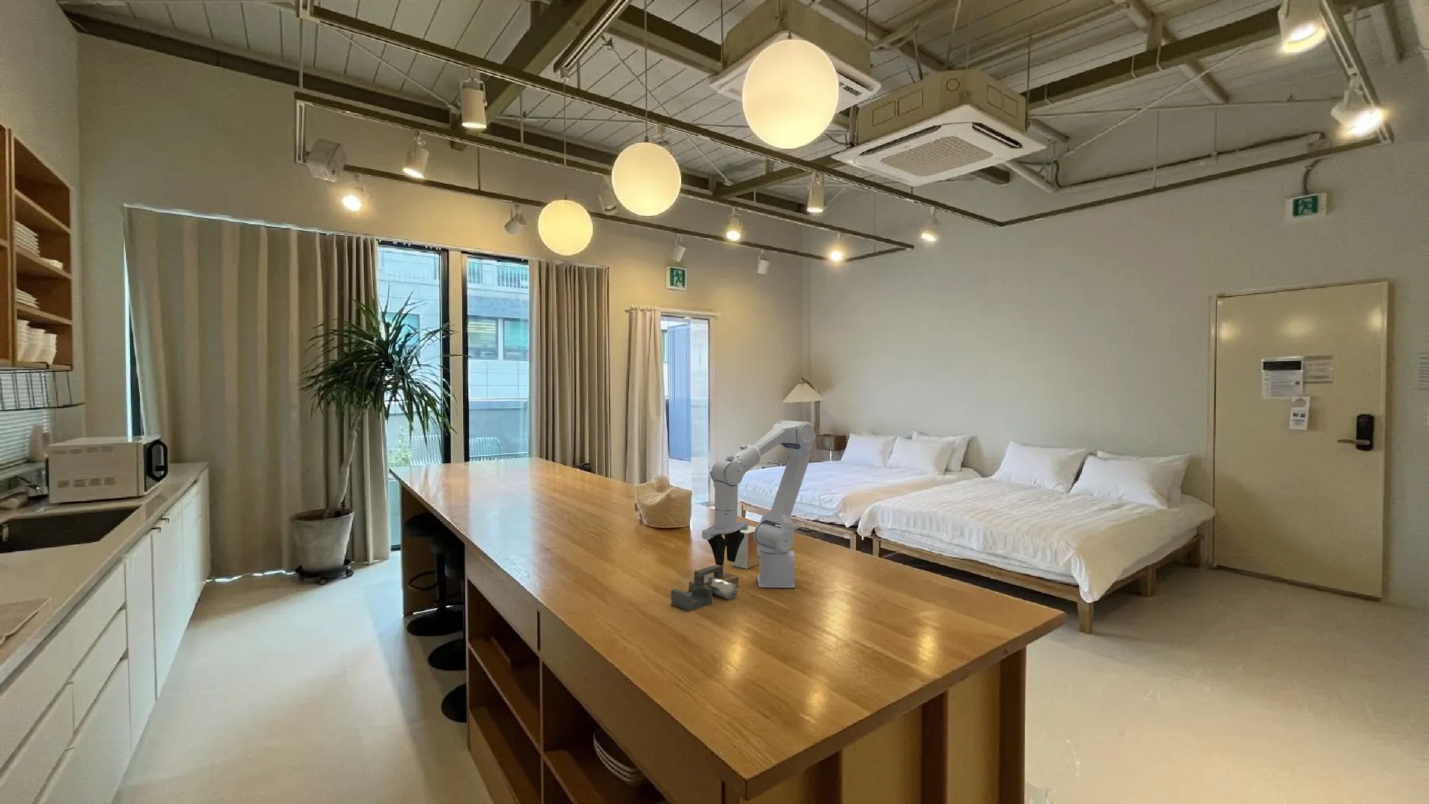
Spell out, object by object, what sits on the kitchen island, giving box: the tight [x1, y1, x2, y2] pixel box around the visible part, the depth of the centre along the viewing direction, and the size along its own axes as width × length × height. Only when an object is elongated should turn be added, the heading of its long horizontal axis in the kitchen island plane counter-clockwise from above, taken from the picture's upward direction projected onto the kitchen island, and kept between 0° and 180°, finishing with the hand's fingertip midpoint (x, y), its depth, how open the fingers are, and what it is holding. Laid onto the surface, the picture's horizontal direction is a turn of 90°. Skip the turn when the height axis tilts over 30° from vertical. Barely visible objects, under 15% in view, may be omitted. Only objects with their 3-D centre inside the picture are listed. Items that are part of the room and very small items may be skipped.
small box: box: [731, 525, 760, 570], centre depth 174 cm, size 8×6×10 cm
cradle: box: [670, 583, 713, 612], centre depth 143 cm, size 6×8×4 cm
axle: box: [692, 574, 738, 601], centre depth 151 cm, size 12×4×4 cm, turn 45°
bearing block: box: [688, 564, 740, 592], centre depth 154 cm, size 6×12×6 cm, turn 135°
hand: (725, 562), depth 148 cm, fingers open, 4 cm apart
